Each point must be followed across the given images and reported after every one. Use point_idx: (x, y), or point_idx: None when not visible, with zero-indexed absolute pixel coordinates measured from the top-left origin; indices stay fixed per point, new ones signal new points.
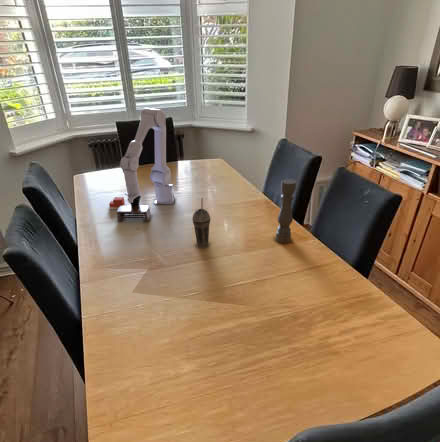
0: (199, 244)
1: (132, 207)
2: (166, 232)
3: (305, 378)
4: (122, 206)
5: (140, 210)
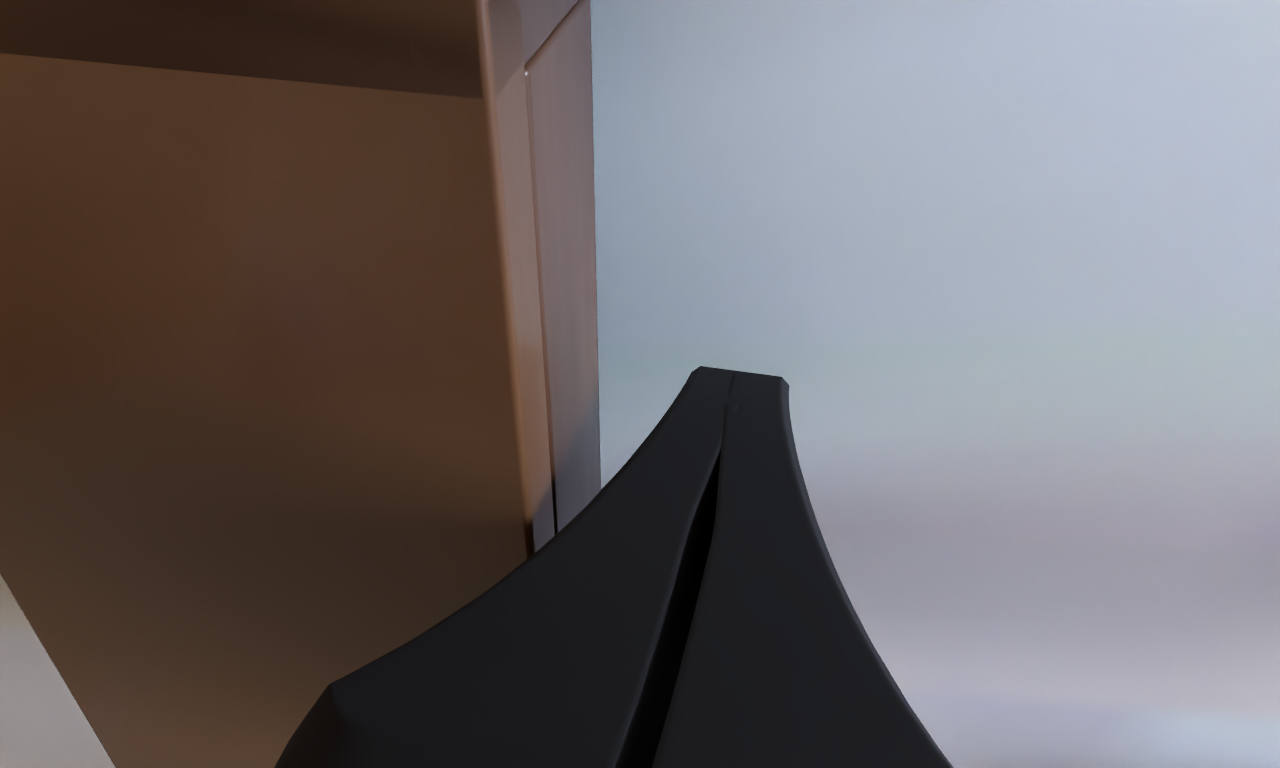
0: None
1: (328, 560)
2: (8, 762)
3: None
4: (347, 120)
5: (163, 734)
